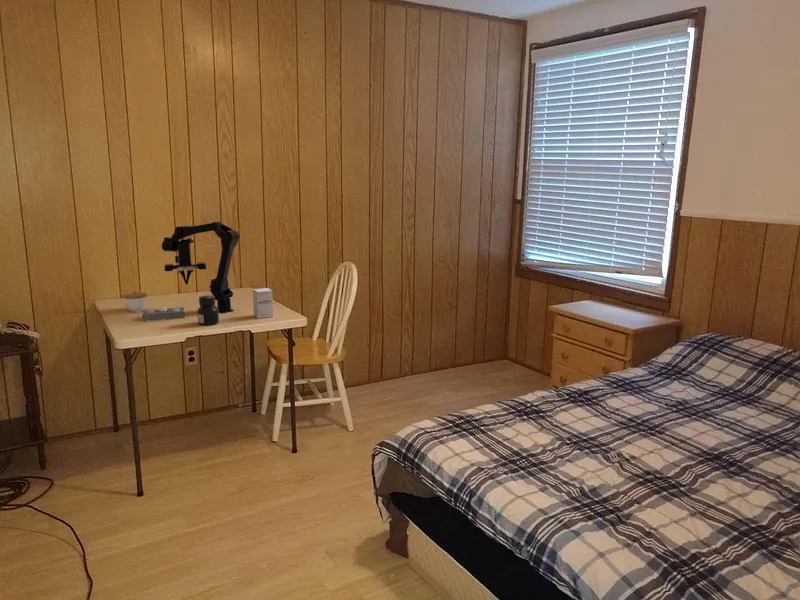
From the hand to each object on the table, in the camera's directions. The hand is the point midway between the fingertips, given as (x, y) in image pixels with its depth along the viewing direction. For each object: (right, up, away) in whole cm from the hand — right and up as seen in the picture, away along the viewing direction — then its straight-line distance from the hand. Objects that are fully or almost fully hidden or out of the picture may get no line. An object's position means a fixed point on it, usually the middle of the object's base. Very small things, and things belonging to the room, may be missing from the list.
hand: (186, 284), depth 295 cm
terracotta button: (-11, -15, -17) cm, 25 cm away
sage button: (0, -14, -13) cm, 19 cm away
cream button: (-5, -13, -15) cm, 21 cm away
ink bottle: (+18, -18, -25) cm, 36 cm away
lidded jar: (-24, -13, -1) cm, 27 cm away
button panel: (-5, -16, -15) cm, 22 cm away
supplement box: (+40, -15, -11) cm, 44 cm away
